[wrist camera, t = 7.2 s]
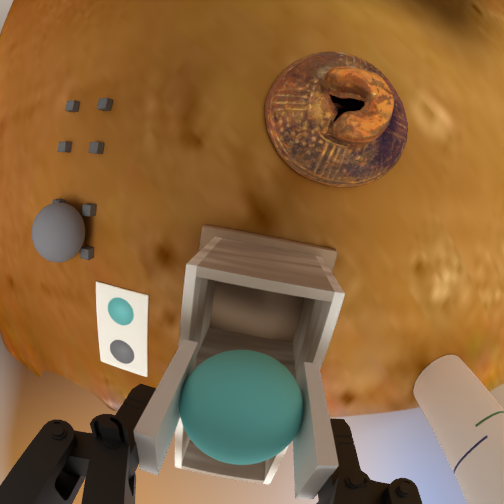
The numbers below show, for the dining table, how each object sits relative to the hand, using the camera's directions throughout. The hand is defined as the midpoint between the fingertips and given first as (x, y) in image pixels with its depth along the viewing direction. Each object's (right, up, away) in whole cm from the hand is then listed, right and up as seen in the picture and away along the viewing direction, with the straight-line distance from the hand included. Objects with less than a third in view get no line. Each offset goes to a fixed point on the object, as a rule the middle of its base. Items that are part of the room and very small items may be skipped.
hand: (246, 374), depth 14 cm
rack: (0, -2, +12) cm, 13 cm away
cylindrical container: (+22, -9, +12) cm, 27 cm away
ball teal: (0, 0, 0) cm, 0 cm away
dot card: (-13, -2, +13) cm, 19 cm away
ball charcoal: (-17, +9, +11) cm, 22 cm away
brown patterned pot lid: (+7, +17, +8) cm, 20 cm away
